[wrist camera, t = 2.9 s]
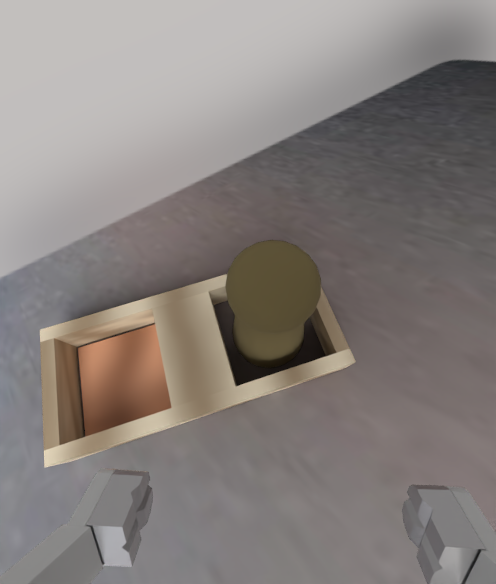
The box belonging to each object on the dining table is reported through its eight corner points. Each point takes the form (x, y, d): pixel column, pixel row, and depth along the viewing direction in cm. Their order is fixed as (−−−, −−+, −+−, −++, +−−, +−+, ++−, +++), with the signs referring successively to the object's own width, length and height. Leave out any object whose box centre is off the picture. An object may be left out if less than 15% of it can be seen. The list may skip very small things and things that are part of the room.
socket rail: (300, 267, 27) (304, 250, 24) (344, 368, 23) (355, 361, 21) (64, 339, 25) (39, 329, 22) (72, 461, 21) (44, 467, 19)
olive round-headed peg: (223, 311, 26) (199, 242, 15) (287, 288, 26) (304, 208, 16) (246, 379, 23) (237, 350, 13) (316, 352, 24) (358, 305, 14)
